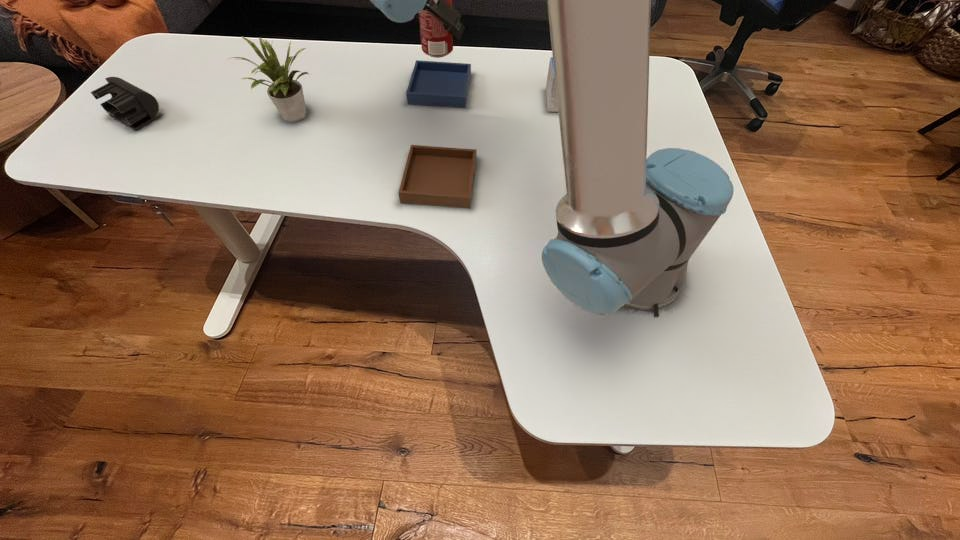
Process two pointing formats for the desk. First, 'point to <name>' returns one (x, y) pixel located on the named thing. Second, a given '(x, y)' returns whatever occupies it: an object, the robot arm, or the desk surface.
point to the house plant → (280, 82)
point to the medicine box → (551, 89)
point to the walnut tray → (438, 176)
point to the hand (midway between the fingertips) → (446, 27)
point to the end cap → (127, 103)
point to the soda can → (434, 35)
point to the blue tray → (439, 84)
